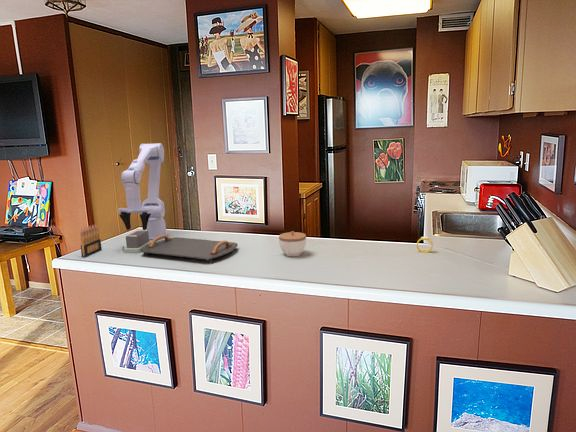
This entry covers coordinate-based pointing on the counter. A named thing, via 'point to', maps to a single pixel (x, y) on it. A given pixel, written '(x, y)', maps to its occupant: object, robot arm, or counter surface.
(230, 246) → the serving board
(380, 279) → the counter surface
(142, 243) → the block
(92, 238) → the ammunition clip
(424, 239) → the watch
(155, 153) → the robot arm
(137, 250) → the pin header
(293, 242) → the lidded jar
